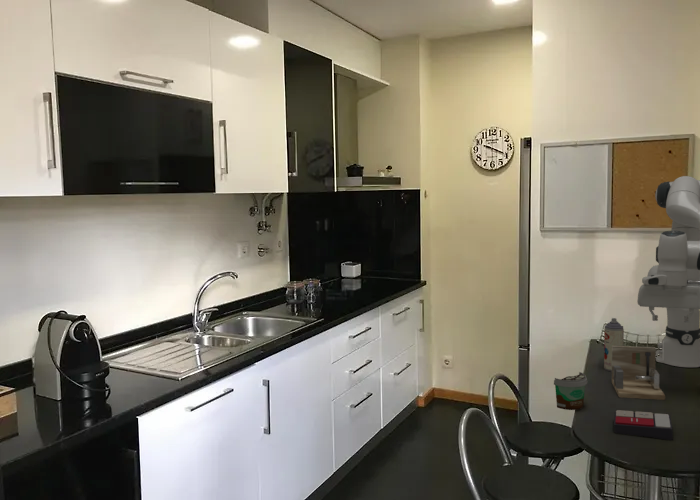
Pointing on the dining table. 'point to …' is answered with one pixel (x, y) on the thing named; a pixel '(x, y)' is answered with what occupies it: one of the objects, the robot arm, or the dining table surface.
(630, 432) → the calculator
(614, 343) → the aerosol can
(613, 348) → the gauge frame
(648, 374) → the dark bent bar
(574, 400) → the food container
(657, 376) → the slab with metal rod
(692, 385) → the dining table surface
